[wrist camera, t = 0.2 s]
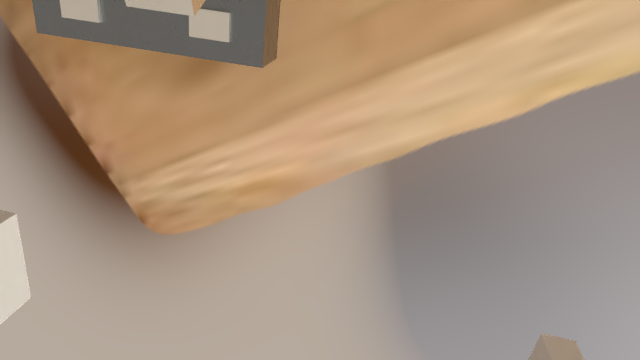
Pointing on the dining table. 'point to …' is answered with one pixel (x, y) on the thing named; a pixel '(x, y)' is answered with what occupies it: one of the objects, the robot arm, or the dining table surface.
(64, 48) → the dining table surface
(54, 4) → the panel
